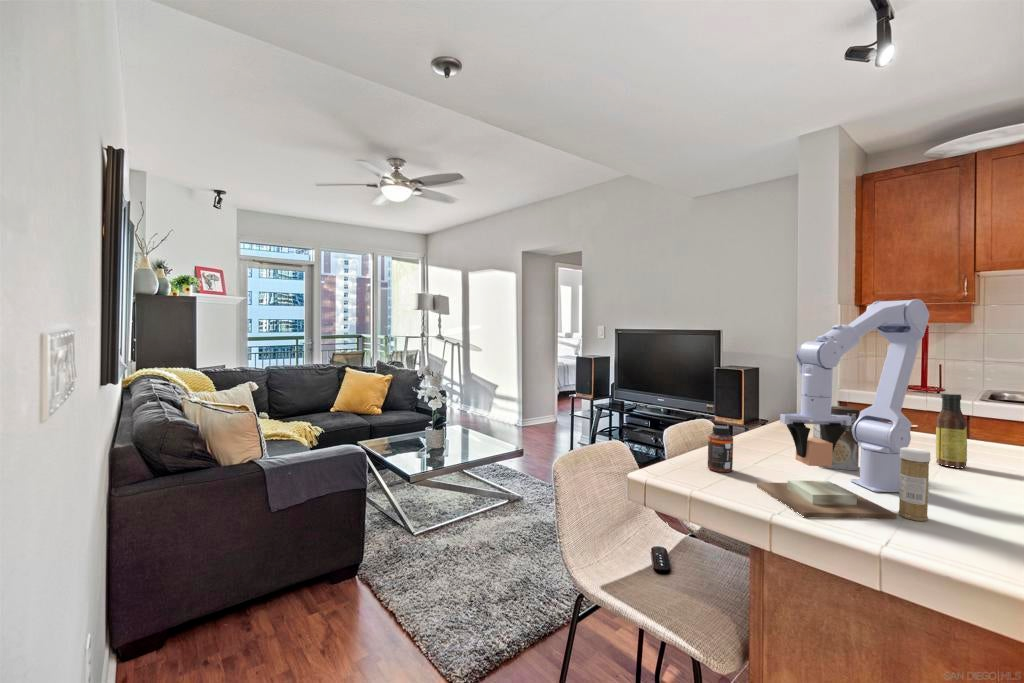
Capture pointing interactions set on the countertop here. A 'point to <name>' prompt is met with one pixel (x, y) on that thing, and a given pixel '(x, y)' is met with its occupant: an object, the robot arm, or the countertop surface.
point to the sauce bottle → (951, 432)
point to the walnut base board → (826, 509)
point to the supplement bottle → (720, 449)
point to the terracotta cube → (817, 453)
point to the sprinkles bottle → (914, 483)
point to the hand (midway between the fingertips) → (814, 456)
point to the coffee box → (843, 441)
